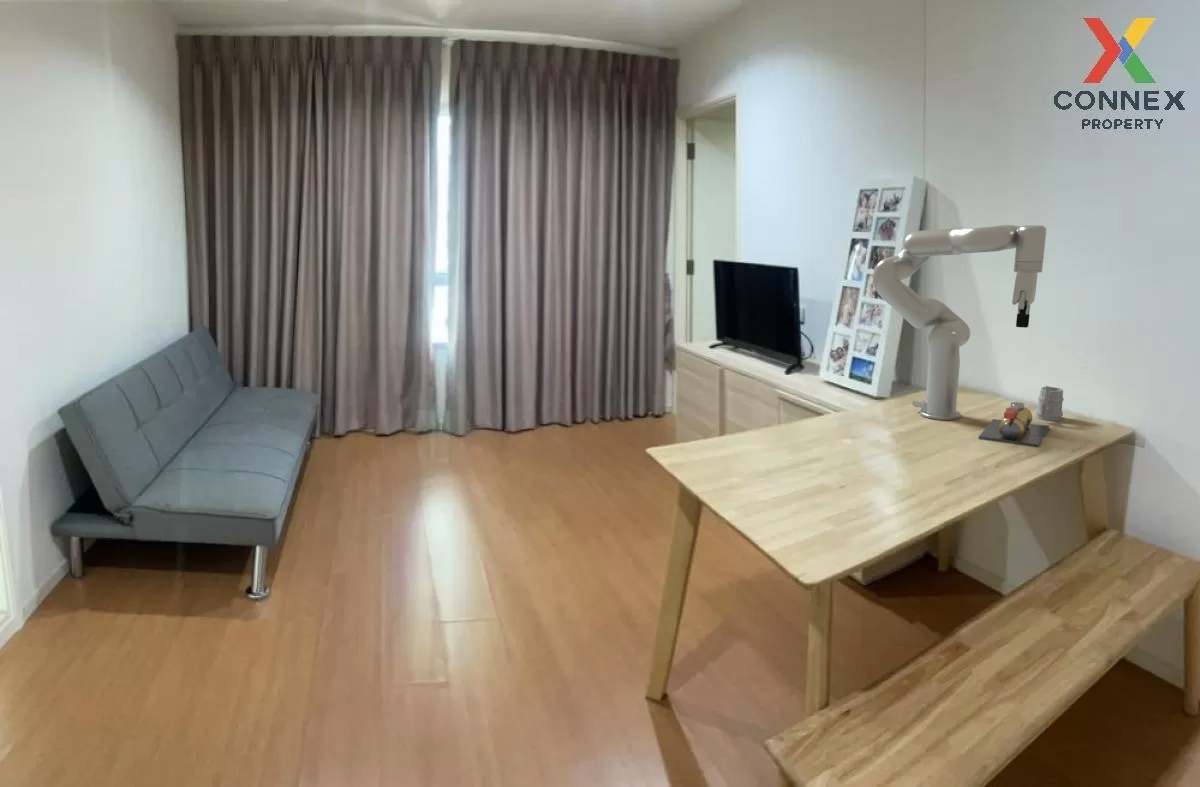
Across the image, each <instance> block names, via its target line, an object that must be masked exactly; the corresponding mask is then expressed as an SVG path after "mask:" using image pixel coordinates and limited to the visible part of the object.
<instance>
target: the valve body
mask: <svg viewBox="0 0 1200 787" xmlns="http://www.w3.org/2000/svg"><path fill="white" fill-rule="evenodd" d="M1008 408H1009V407H1006V408H1005V411H1006V410H1007V409H1008ZM1032 421H1033V414H1032V412H1031V410H1029V409H1028V408H1027V407H1025V406H1024V410H1019V411H1018V412H1017V414H1016V415H1015V416H1014V417H1013V418H1012V419H1009V418H1003V419H997V418H993V419H992V420H991V421H990V422H989V423H988V425H987V426H986V427H985V428H984V429H983V431H982V432H981V433H980V434H979V435H978V439H979V440H985V441H986V440H987V441H991V440H992V442H993V441H994V442H1000V443H1006V444H1014V445H1021V446H1027V447H1036V448H1040V446H1041V444H1042V442H1043V441H1044V438H1045V437H1046V436H1047V433H1048V432H1049V430H1050V425H1043V424H1035V423H1032Z"/></svg>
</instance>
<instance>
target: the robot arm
mask: <svg viewBox="0 0 1200 787" xmlns="http://www.w3.org/2000/svg"><path fill="white" fill-rule="evenodd" d="M1046 237H1047V228H1046V226H1044V225H1037V224H1036V225H1035V224H1033V225H1022V226H1021V225H1015V224H1002V225H1001V224H1000V225H995V226H986V227H984V226H983V227H975V228H961V227H951V228H950V227H949V228H939V229H925V230H917V231H912V232H911V233H908V235H906V237H905V239H904V241H903V249H902V250H901V251H900V252H899V254H897V255H894V256H889V257H886V258H883V259H881V260H880V261H879V262H878V263H877V264H876V266H875V268H874V269H873V274H872V275H873V276H872V283H873V287H874V288H875V291H876V292H877V294H878V296H880V297H881V299H883V300H884V301H885V302H886V304H888V305H890V306H891V308H893V309H894V310H895V312H897V313H898V315H900V316H901V317H902V318H903V319H904V320H905V321H906V322H908V323H909V324H910V325H911V326H912V327H913V328H916V329H919V330H925V329H929V330H930V333H929V334H928V338H927V347H928V348H927V349H928V351H927V352H928V366H927V376H926V377H927V380H926V391H925V392H926V394H925V396H926V397H925V400H922V401H920V400H915V399H913V400H912V406H913V407H914V408H921V409H920V410H919V415H921V417H924V418H927V419H932V420H941V421H949V420H950V421H953V420H958V419H960V418H961V416H962V413H961V412H960V411H959V410H957V405H958V404H957V403H958V394H959V393H958V390H959V378H960V360H961V359H960V347H961V346H962V347H963V346H964V345H965V344H967V343H968V341H969V340H970V337H971V330H970V329H971V328H970V327H969V325H968V324H967V323H966V321H964V320H963V319H962V318H961V317H960V316H959V315H958V314H956V313H955V312H954V311H953V310H952V309H950V308H949V307H948V306H947V305H946V304H945V303H943V302H942V301H940V300H938V299H936V298H926V299H925V298H923V297H922V296H920V295H919V294H918V293H917V292H915V291H914V289H912V288H911V287H910V286H908V285H906V283H904V282H902V281H903V280H906V279H908V278H910V277H911V276H912V275H914V273H916V271H917V270H918V269H920V267H921V266H923V265H924V264H925V263H926V262H927V261H928V260H929V259H930V258H931V257H937V256H953V255H954V256H955V255H956V256H957V255H958V256H959V255H962V254H977V253H989V252H990V253H993V252H1001V251H1006V250H1011V249H1015V253H1014V254H1015V255H1014V263H1013V264H1014V265H1013V273H1016V276H1015V280H1014V281H1015V282H1014V287H1013V294H1012V303H1011V304H1012V305H1013V306H1015V305H1017V314H1016V320H1015V322H1016V323H1015V327H1016V328H1028V327H1029V324H1030V315H1031V314H1030V310H1031V305H1032V304H1033V303H1034V302H1035V297H1036V292H1037V283H1038V282H1037V281H1038V273H1043V266H1044V265H1043V263H1044V256H1045V246H1046Z"/></svg>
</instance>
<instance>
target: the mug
mask: <svg viewBox="0 0 1200 787" xmlns="http://www.w3.org/2000/svg"><path fill="white" fill-rule="evenodd" d="M1039 391H1040V392H1039V395H1038V398H1037V399H1038V403H1037V409H1036V410H1035V414H1036V418H1037V419H1039V420H1042V421H1049V422H1051V421H1052V422H1054V421H1055V422H1056V421H1061V420H1062V417H1063V415H1064V413H1063V402H1064V397H1063V396H1064V390H1063V388H1060V387H1055V386H1054V387H1053V386H1049V385H1045V386H1043V387H1040V390H1039Z"/></svg>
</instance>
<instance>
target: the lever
mask: <svg viewBox="0 0 1200 787" xmlns="http://www.w3.org/2000/svg"><path fill="white" fill-rule="evenodd" d="M1024 407H1025V403H1023V402H1017V401H1014V402H1010V407H1007V408H1008V409H1007V410H1006V409H1005V412H1004V413H1003V419H1005V418H1009V419H1012V418H1013V417H1014V416H1015V415H1016V414H1017V412H1018V411H1019V410H1024Z"/></svg>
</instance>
